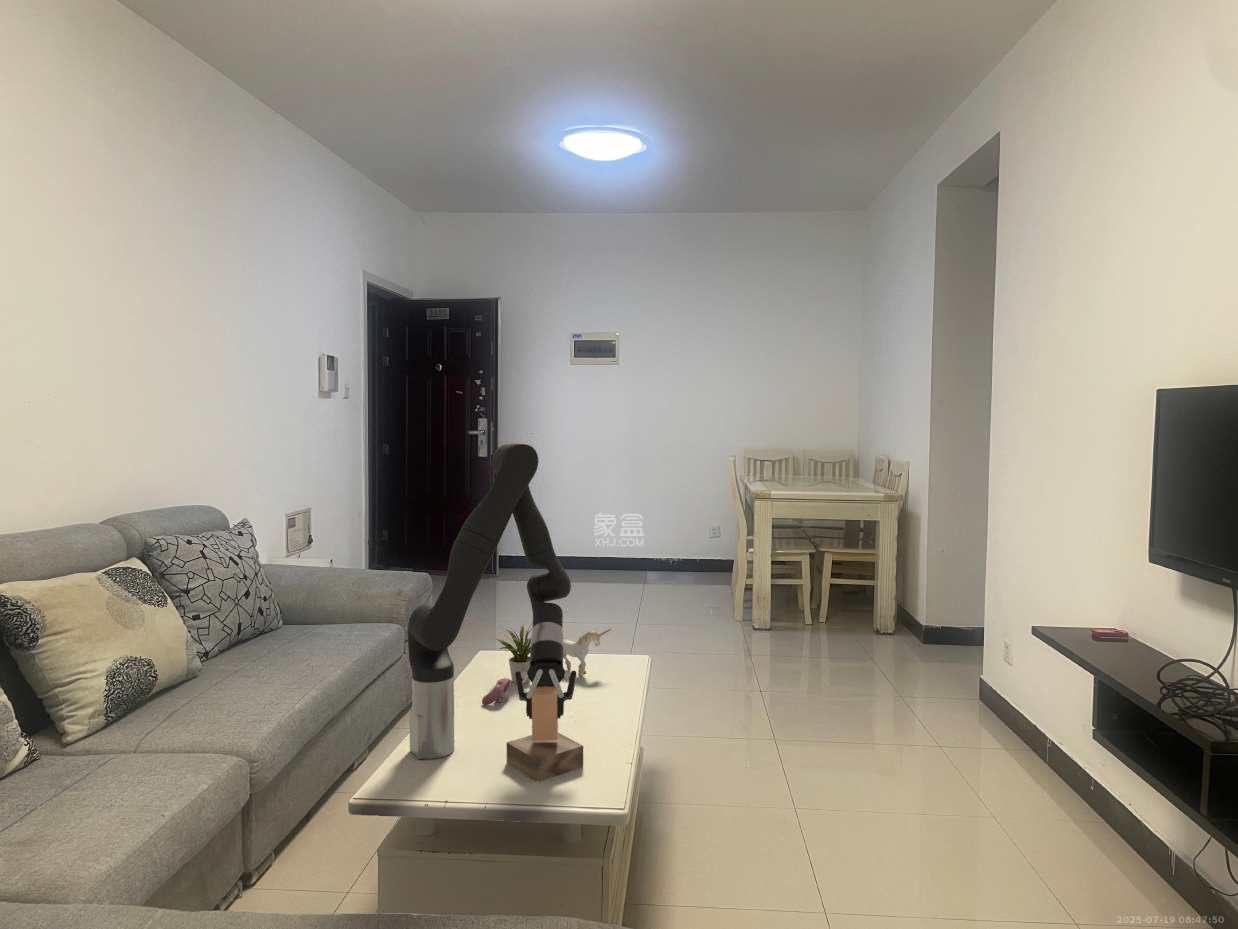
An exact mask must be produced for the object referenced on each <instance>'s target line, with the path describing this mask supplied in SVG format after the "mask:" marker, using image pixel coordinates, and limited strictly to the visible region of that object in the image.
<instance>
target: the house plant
mask: <svg viewBox="0 0 1238 929" xmlns="http://www.w3.org/2000/svg"><path fill="white" fill-rule="evenodd" d="M524 625H525V624H523V623H522V624H521V626H520V630H519V631H520V632H519V636H518V634H517V633H516V631H511V630H512V628H510V627H509V629H511V630H509V629H507V628H503V627H501V628H502V629H503V630H505V631H506V632H507V633H509V635H510V636H511V638H512V640H511V639H510V637H508V636H507V635H505V634H504V633H500V634H501V635H504V637H506V638H507V639H508V640H509V641H510V642H511V643H512V644H510V643H509V642H507V641H505V640H503V639H501V638H495V640H496V641H498V642H500V644H501V645H502V646H503V647H500V648H499V649H498V650H502V649H503V650H504V649H507V650H508V651H510V653H511V654H512V655H513V656H512V657H510V658H508V664H509V670H510V675H511V681H512V683H515V684H517V682H516V675H515V673H516V672H517V671H519V672H521V673H523V672H527V671H528V669H529V667H530V649H531V637H528V636H529V634H530V632H532V629H530V630H529V628H528V629H527V630H526V633H525V636H524V632H525V626H524ZM528 682H531V681H530V679H529V678H528V677H527V678H526V681H525V682H524V683H523V684H525V683H528Z"/></svg>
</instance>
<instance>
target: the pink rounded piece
mask: <svg viewBox="0 0 1238 929" xmlns="http://www.w3.org/2000/svg"><path fill="white" fill-rule="evenodd" d="M512 683H513V681H512V679H510V678H508V677H507V678H506V677H505V676H504V677H503V678H500V679H498V680H497V681H496V684H495V685H494V686H493V688H492V689H491V690H490V692H488V693H487V694H486V695H484V696H483V697H482V699H481V703H482V705H483V706H489V705H492V704H493V703H499V702H500V701H501V699H503V698H505V696H506V693H507V692H508V690H509V689H510V688H511V685H512Z"/></svg>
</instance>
